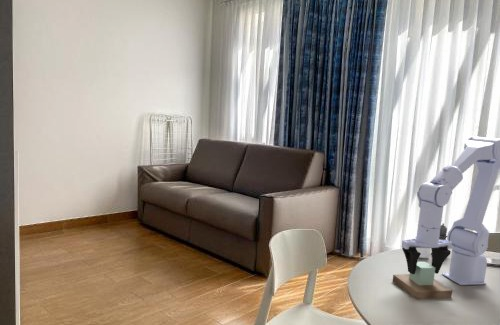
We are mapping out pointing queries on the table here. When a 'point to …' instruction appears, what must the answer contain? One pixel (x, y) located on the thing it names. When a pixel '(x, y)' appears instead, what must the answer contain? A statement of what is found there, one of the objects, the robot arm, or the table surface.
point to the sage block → (423, 274)
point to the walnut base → (422, 288)
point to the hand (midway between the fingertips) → (423, 272)
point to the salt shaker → (442, 233)
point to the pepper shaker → (423, 252)
